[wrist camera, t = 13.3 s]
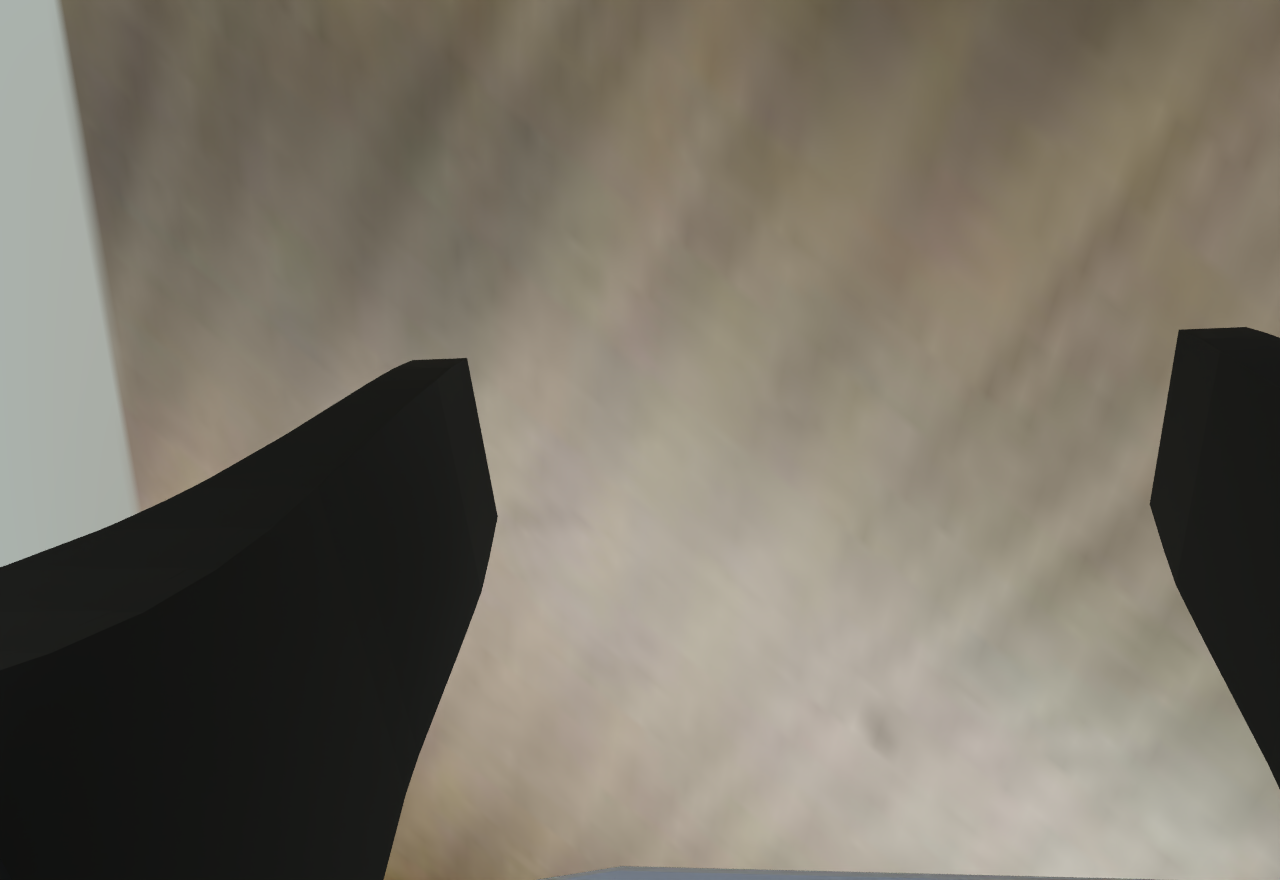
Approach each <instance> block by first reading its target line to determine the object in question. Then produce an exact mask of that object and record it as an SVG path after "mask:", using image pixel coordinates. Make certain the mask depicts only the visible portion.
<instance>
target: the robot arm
mask: <svg viewBox="0 0 1280 880" xmlns="http://www.w3.org/2000/svg"><path fill="white" fill-rule="evenodd" d="M1150 506H1151V510H1152V513H1153V516H1154V519H1155V523H1156V526H1157V529H1158V532H1159V536H1160V539H1161V542H1162V546H1163V549H1164V552H1165V555H1166V558H1167V560H1168V563H1169V566H1170V569H1171V572H1172V575H1173V578H1174V581H1175V584H1176V586H1177V588H1178V590H1179V592H1180V594H1181V596H1182V598H1183V600H1184V602H1185V604H1186V606H1187V608H1188V610H1189V612H1190V614H1191V616H1192V618H1193V620H1194V622H1195V624H1196V626H1197V628H1198V630H1199V632H1200V634H1201V636H1202V638H1203V640H1204V642H1205V644H1206V646H1207V648H1208V650H1209V652H1210V654H1211V655H1212V657H1213V659H1214V661H1215V663H1216V665H1217V667H1218V669H1219V671H1220V673H1221V675H1222V677H1223V678H1224V680H1225V682H1226V684H1227V686H1228V688H1229V690H1230V692H1231V694H1232V696H1233V698H1234V700H1235V701H1236V703H1237V705H1238V707H1239V709H1240V711H1241V713H1242V715H1243V717H1244V719H1245V721H1246V723H1247V725H1248V726H1249V728H1250V730H1251V732H1252V734H1253V736H1254V738H1255V740H1256V742H1257V744H1258V746H1259V748H1260V750H1261V751H1262V753H1263V755H1264V757H1265V759H1266V761H1267V763H1268V765H1269V767H1270V769H1271V771H1272V773H1273V776H1274V778H1275V780H1276V782H1277V784H1278V787H1279V789H1280V338H1278V337H1276V336H1273V335H1270V334H1267V333H1264V332H1261V331H1258V330H1254V329H1251V328H1247V327H1237V328H1212V329H1187V330H1179V332H1178V338H1177V344H1176V350H1175V356H1174V362H1173V368H1172V374H1171V380H1170V386H1169V392H1168V398H1167V404H1166V410H1165V416H1164V422H1163V428H1162V434H1161V440H1160V446H1159V452H1158V458H1157V464H1156V470H1155V476H1154V482H1153V488H1152V494H1151V500H1150ZM497 517H498V516H497V511H496V506H495V501H494V496H493V490H492V485H491V480H490V475H489V470H488V465H487V459H486V454H485V449H484V444H483V439H482V433H481V428H480V423H479V418H478V413H477V408H476V402H475V397H474V392H473V387H472V382H471V377H470V371H469V366H468V361H467V358H457V359H432V360H412V361H410V362H407V363H405V364H402V365H400V366H398V367H396V368H394V369H392V370H390V371H389V372H387V373H385V374H383V375H381V376H380V377H378V378H376V379H375V380H373V381H371V382H370V383H368V384H366V385H365V386H363V387H361V388H360V389H358V390H356V391H355V392H353V393H352V394H350V395H348V396H347V397H345V398H344V399H342V400H341V401H339V402H337V403H336V404H334V405H333V406H331V407H329V408H328V409H326V410H324V411H323V412H321V413H320V414H318V415H316V416H315V417H313V418H312V419H310V420H308V421H307V422H305V423H304V424H302V425H300V426H299V427H297V428H296V429H294V430H292V431H291V432H289V433H288V434H286V435H284V436H283V437H281V438H279V439H277V440H276V441H274V442H272V443H270V444H269V445H267V446H265V447H263V448H262V449H260V450H258V451H256V452H255V453H253V454H251V455H250V456H248V457H246V458H244V459H243V460H241V461H239V462H237V463H236V464H234V465H232V466H230V467H229V468H227V469H225V470H223V471H222V472H220V473H218V474H216V475H215V476H213V477H211V478H209V479H207V480H205V481H203V482H202V483H200V484H198V485H196V486H194V487H192V488H190V489H188V490H186V491H184V492H182V493H180V494H178V495H176V496H174V497H172V498H170V499H168V500H166V501H164V502H161V503H159V504H157V505H155V506H153V507H151V508H148V509H146V510H144V511H142V512H140V513H137V514H135V515H133V516H131V517H129V518H127V519H124V520H122V521H120V522H118V523H115V524H113V525H111V526H108V527H106V528H103V529H101V530H99V531H96V532H93V533H91V534H88V535H86V536H83V537H80V538H77V539H75V540H72V541H70V542H67V543H64V544H62V545H59V546H56V547H54V548H51V549H48V550H46V551H43V552H40V553H38V554H35V555H32V556H30V557H27V558H25V559H22V560H19V561H17V562H14V563H11V564H9V565H6V566H3V567H0V880H383V879H384V876H385V872H386V868H387V864H388V860H389V856H390V853H391V849H392V845H393V841H394V837H395V833H396V829H397V826H398V822H399V818H400V814H401V810H402V806H403V803H404V799H405V795H406V792H407V789H408V786H409V783H410V780H411V777H412V774H413V771H414V768H415V765H416V762H417V759H418V756H419V753H420V751H421V748H422V746H423V743H424V740H425V738H426V735H427V733H428V730H429V728H430V725H431V722H432V720H433V717H434V715H435V712H436V710H437V707H438V704H439V702H440V699H441V697H442V694H443V692H444V689H445V686H446V684H447V681H448V679H449V676H450V674H451V671H452V668H453V666H454V663H455V661H456V658H457V656H458V653H459V650H460V648H461V645H462V643H463V640H464V637H465V635H466V632H467V629H468V627H469V624H470V621H471V619H472V616H473V613H474V611H475V608H476V605H477V602H478V600H479V597H480V594H481V591H482V587H483V583H484V579H485V574H486V570H487V566H488V561H489V557H490V552H491V547H492V542H493V537H494V532H495V527H496V522H497ZM539 880H1154V879H1114V878H1074V877H1035V876H995V875H955V874H915V873H875V872H835V871H795V870H755V869H715V868H675V867H635V866H620V867H614V868H607V869H601V870H595V871H589V872H582V873H576V874H570V875H564V876H557V877H551V878H545V879H539Z"/></svg>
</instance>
